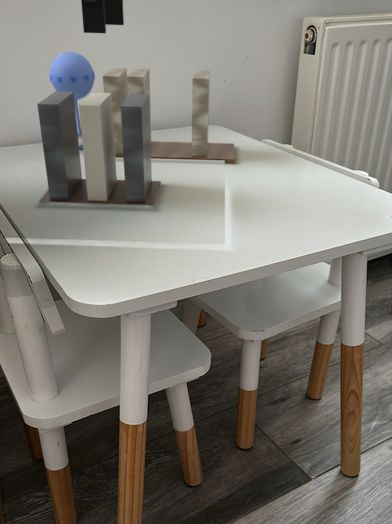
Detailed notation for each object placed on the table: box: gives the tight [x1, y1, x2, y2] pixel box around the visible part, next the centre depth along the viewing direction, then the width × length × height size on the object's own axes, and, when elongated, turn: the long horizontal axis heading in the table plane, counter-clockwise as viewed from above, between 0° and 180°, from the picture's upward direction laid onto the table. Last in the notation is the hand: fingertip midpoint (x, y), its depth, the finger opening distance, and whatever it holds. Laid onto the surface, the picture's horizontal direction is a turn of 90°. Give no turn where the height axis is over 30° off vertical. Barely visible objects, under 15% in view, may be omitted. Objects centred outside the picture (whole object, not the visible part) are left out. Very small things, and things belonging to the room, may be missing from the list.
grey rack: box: [36, 91, 162, 206], centre depth 88 cm, size 18×12×15 cm, turn 88°
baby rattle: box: [48, 51, 96, 150], centre depth 111 cm, size 9×9×18 cm
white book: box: [78, 92, 118, 201], centre depth 88 cm, size 3×10×14 cm, turn 178°
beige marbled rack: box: [102, 67, 236, 165], centre depth 110 cm, size 26×12×15 cm, turn 88°
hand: (105, 28), depth 77 cm, fingers open, 13 cm apart
